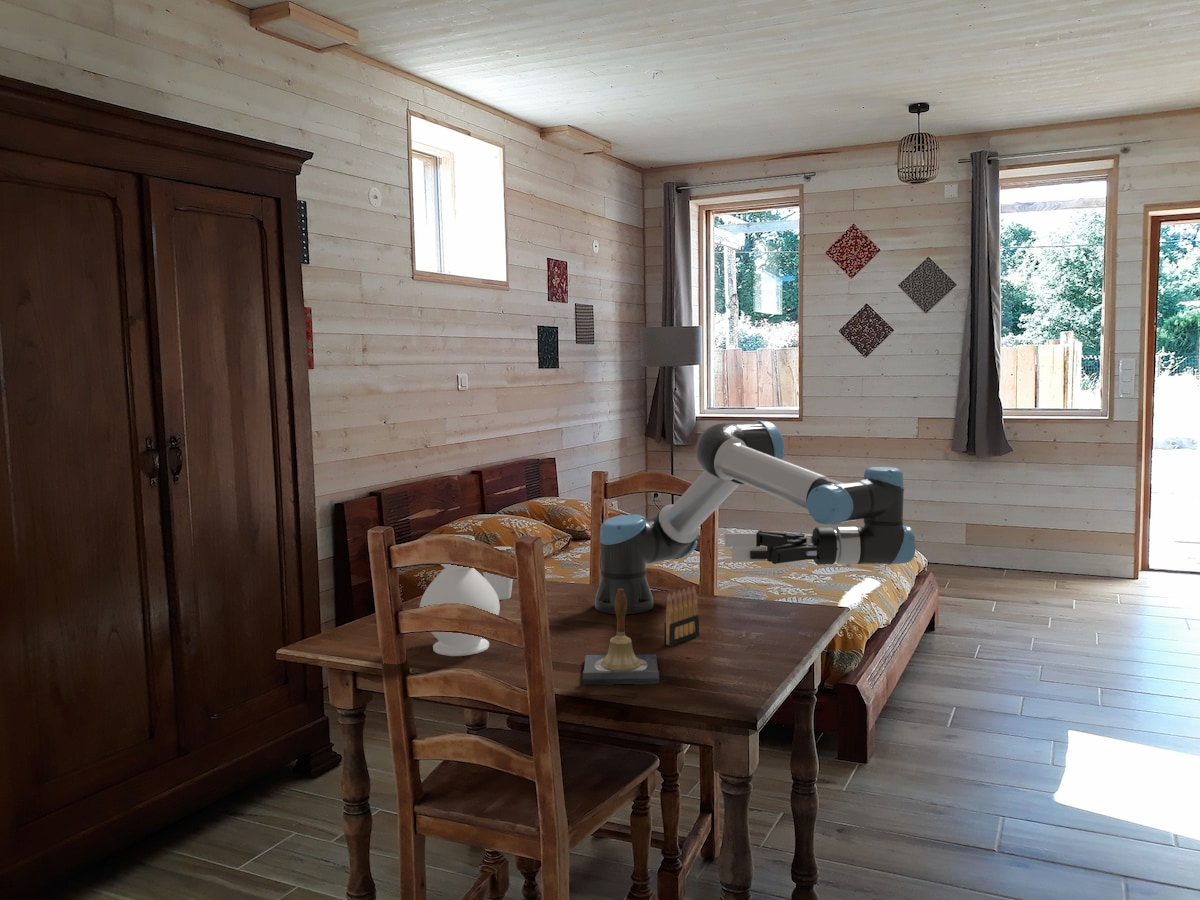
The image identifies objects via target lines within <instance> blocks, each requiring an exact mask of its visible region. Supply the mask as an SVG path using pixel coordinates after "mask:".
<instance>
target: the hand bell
mask: <svg viewBox="0 0 1200 900" xmlns="http://www.w3.org/2000/svg"><path fill="white" fill-rule="evenodd" d="M614 607H615V613H616V614H615V616H616V635H615V636H613V637H611V638H610V640H609V647H608V650H607V653H606V654H605V655H606V657H605V658H604V659H603V660H602V662H601V666H602V667H603V668H605V669H608V670H613V671H629V670H634V669H636V668H638V667H640V666H641V663H640V661H639V659H637V658H636V656H635V652H634V649H633V643H632V642H633V641H632V639H631V637H629V636H627V635H626V633H625V632H626V629H625V628H626V625H625V619H626V615H627V614H626V611H627V599H626V596H625V593H624V589H622V588H619V589H618V590H617V594H616V597H615V601H614Z"/></svg>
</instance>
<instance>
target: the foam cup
mask: <svg viewBox="0 0 1200 900" xmlns="http://www.w3.org/2000/svg"><path fill="white" fill-rule="evenodd" d="M493 547H494V548H497V549H499V550H506V549H511V548H512V547H510V546H493ZM482 573H483V577H484V578H485V579H486V580H487V581H488V582H489V583H490V585H491V586H492V587H493V589H494V590H495V592H496V594H497V596H498V599H499V601H502V600H503V601H504V600H508V599H510V598H511V596H512V589H513V582H514V581H513V579H514V578H513V579H510V578H506V577H501V576H498V575H494V574H490V573H487V572H483V571H482Z"/></svg>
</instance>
